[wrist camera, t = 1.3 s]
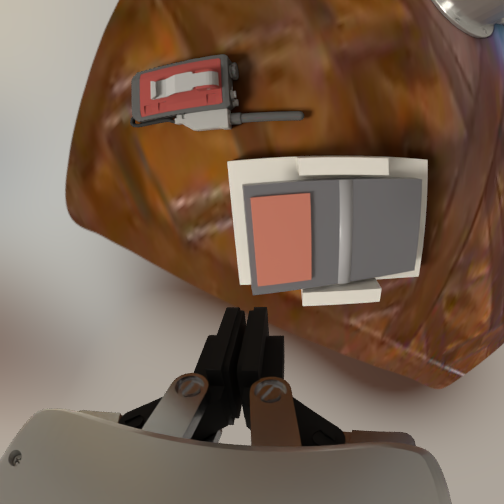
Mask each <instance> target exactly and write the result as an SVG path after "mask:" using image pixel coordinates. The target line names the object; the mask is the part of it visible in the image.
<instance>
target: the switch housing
mask: <svg viewBox="0 0 504 504" xmlns="http://www.w3.org/2000/svg"><path fill="white" fill-rule="evenodd" d="M227 163H228V173H229V184H230V194H231V204H232V214H233V224H234V233H235V243H236V252H237V262H238V271H239V280H240V285H248V284H251V277H250V266H249V255H248V244H247V233H246V222H245V211H244V200H243V189H242V184H249V183H260V182H273V181H287V180H303V179H323V178H354V177H412V178H418V179H422V199H421V216H420V229H419V239H418V248H417V256H416V263H415V270H413V271H408V272H403V273H397V274H392V275H386V276H381V277H375V278H369V279H363V280H357V281H351V282H349V283H346V284H332V285H325V286H319V287H312V288H305V289H301V292H302V303H303V306H315V305H335V304H352V303H367V302H380V295H381V287H380V285H379V284H378V282H377V281H376V279H389V278H403V277H417V276H419V270H420V264H421V257H422V249H423V241H424V232H425V221H426V206H427V181H428V160H424V159H416V158H402V157H383V156H292V157H272V158H257V159H244V160H233V161H227Z"/></svg>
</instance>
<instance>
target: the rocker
mask: <svg viewBox="0 0 504 504" xmlns="http://www.w3.org/2000/svg"><path fill="white" fill-rule="evenodd" d="M242 189H243V200H244V211H245V222H246V233H247V244H248V255H249V266H250V277H251V288H252V292H253V295H259V294H267V293H275V292H283V291H290V290H298V289H305V288H312V287H319V286H325V285H332V284H346V283H349V282H351V281H357V280H363V279H369V278H375V277H381V276H386V275H392V274H397V273H403V272H408V271H413V270H415V263H416V256H417V248H418V239H419V229H420V216H421V199H422V179H418V178H412V177H354V178H323V179H303V180H287V181H273V182H260V183H249V184H242Z"/></svg>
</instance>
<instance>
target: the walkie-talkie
mask: <svg viewBox="0 0 504 504" xmlns="http://www.w3.org/2000/svg"><path fill="white" fill-rule="evenodd" d="M238 77H239V72H238V66H237V63H232V64H231V61H230V59H229V58H228V56H226V55H224V54H222V55H215V56H208V57H202V58H196V59H191V60H186V61H184V62H182V61H181V62H179V63H177V62H176V63H174V64H173V63H172V64H170V65H168V64H167V65H166V66H164V65H163V66H162V67H158V68H153V69H149V70H145V71H141V72H138V73H137V74H136V75H135V76H134V77H133V78H132V115H133V117H132V118H131V122H130V123H131V125H132V126H133V127H143V126H147V125H152V124H157V123H163V122H171V123H175V124H178V125H179V124H184V125H186V126H187V127H189V128H191V129H192V130H195V131H205V130H214V129H225V130H227V129H232V126H231V125H234V124H242V123H243V122H259V121H286V120H302V119H303V118H304V113H303V112H301V111H283V112H260V113H245V114H242V113H240V112H239V113H231V110H232V109H233V108H234V107H235V106H239V102H238V99H234V98H236V97H237V95H236V91H233V83H232V79H233V80H237V79H238ZM173 118H175V120H173ZM135 120H137V121H138V122H142V123H141V124H136V123H135Z"/></svg>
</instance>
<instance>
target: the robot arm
mask: <svg viewBox="0 0 504 504" xmlns="http://www.w3.org/2000/svg"><path fill="white" fill-rule="evenodd" d="M432 2H433V3H434V5H435V6H436V7H437V8H438V10H439V11H440V12H441V13H442V14H443V15H444V16H445V17H446V18H447V19H448V20H449V21H450V22H451V23H452V24H454V25H455V26H456V27H457V28H459V29H460V30H462V31H463V32H465V33H466V34H468V35H470V36H473V37H476V38H486V37H488V36H490V35H491V34H492V32H493V29H494V24H496V23H497V24H503V25H504V0H432ZM241 406H243V412H244V417H245V420H246V425H247V427H248V428H249V429H250V430H251V446H247V445H233V444H222V443H218V441H219V439H220V437H221V434H222V428H224V427H226V426H228V425H234V420H235V418H239V416H240V411H241ZM0 504H452V503H451V499H450V494H449V491H448V487H447V483H446V481H445V478H444V475H443V472H442V470H441V468H440V466H439V464H438V462H437V460H436V459H435V457H434V456H433V455H432V454H431V453H430V452H429V451H427V450H425V449H423V448H420V447H417V446H416V445H415V441H414V439H413V438H412V436H411V435H409V434H407V433H403V432H376V431H359V430H352V432H343V431H342V430H341V429H339V428H338V427H337V426H335V425H334V424H332V423H331V422H329V421H327V420H326V419H324V418H323V417H321V416H320V415H318V414H317V413H315V412H313V411H312V410H311V409H309V408H308V407H306V406H305V405H303V404H302V403H301V402H299V401H298V400H296V399H295V398H293V396H292V391H291V387H290V385H289V384H288V383H287V382H286V381H285V380H284V336H269V329H268V314H267V307H254V311H249V315H248V320H247V324H246V321H245V312H244V311H240V308H239V307H232V308H231V307H228V308H226V311H225V314H224V316H223V319H222V322H221V325H220V328H219V330H218V333H217V335H209V336H208V338H207V340H206V343H205V345H204V348H203V350H202V353H201V355H200V358H199V360H198V363H197V366H196V368H195V371H194V373H188V374H184V375H181V376H179V377H178V378H176V379H175V380H174V381H173V382H172V384H171V386H170V387H169V388H168V390H167V391H166V393H165V394H164V396H163V397H161V398H159V399H157V400H155V401H152V402H150V403H148V404H146V405H143V406H141V407H139V408H136V409H134V410H132V411H130V412H127V413H126V414H124V415H121V414H120V413H112V412H98V411H87V410H82V411H73V410H67V409H44V410H41V411H38V412H37V413H35V414H34V415H33V416H32V417H31V418H30V419H29V420H28V421H27V422H26V423H25V424H24V426H23V427H22V428H21V429H20V431H19V432H18V433H17V435H16V437H15V438H14V439H13V441H12V442H11V444H10V445H9V447H8V448H7V450H6V451H5V453H4V455H3V456H2V458H1V460H0Z"/></svg>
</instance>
